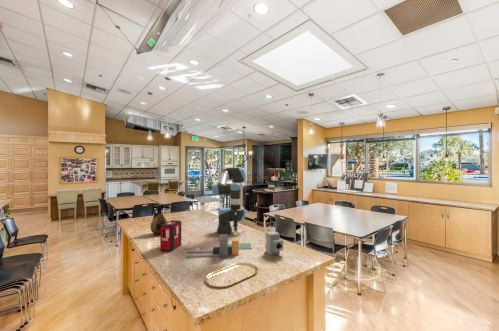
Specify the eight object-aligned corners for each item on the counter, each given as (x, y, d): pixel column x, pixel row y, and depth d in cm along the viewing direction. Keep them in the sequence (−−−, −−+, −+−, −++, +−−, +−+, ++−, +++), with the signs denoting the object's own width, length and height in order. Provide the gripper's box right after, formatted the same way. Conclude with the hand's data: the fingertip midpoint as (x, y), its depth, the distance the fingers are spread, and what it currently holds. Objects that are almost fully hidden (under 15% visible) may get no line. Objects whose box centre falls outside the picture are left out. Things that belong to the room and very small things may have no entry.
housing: (188, 251, 176) (188, 235, 176) (227, 249, 179) (227, 233, 179) (185, 259, 161) (185, 241, 161) (227, 257, 164) (227, 240, 164)
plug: (213, 252, 173) (213, 239, 173) (240, 251, 175) (240, 238, 175) (212, 255, 168) (212, 241, 168) (240, 254, 170) (240, 241, 170)
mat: (226, 244, 191) (226, 243, 191) (250, 243, 193) (250, 243, 193) (226, 249, 179) (226, 249, 179) (251, 248, 181) (251, 248, 181)
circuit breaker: (275, 258, 163) (275, 237, 163) (265, 251, 175) (265, 232, 175) (284, 256, 166) (284, 235, 166) (273, 250, 179) (273, 230, 179)
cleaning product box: (171, 244, 192) (171, 220, 192) (181, 244, 190) (181, 220, 190) (160, 251, 176) (160, 225, 176) (170, 252, 174) (171, 225, 174)
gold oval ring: (199, 280, 133) (199, 277, 133) (243, 262, 157) (243, 260, 157) (218, 293, 119) (218, 290, 119) (263, 271, 143) (263, 269, 143)
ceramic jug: (167, 231, 229) (168, 201, 229) (167, 235, 214) (167, 203, 214) (149, 232, 223) (149, 202, 223) (147, 237, 209) (147, 204, 209)
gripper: (230, 201, 184) (229, 227, 184) (230, 206, 159) (230, 237, 159) (239, 201, 185) (239, 227, 185) (241, 206, 160) (241, 237, 160)
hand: (235, 232), depth 172 cm, fingers open, 13 cm apart
